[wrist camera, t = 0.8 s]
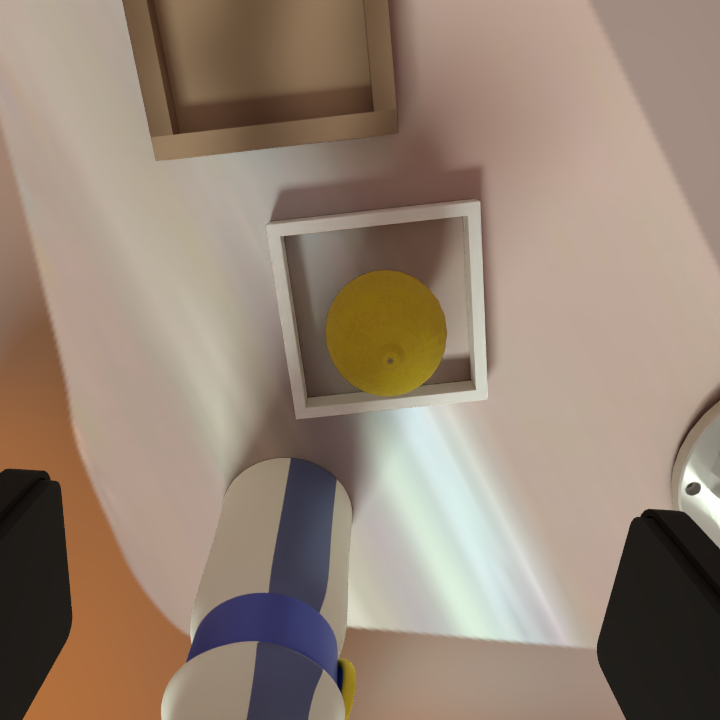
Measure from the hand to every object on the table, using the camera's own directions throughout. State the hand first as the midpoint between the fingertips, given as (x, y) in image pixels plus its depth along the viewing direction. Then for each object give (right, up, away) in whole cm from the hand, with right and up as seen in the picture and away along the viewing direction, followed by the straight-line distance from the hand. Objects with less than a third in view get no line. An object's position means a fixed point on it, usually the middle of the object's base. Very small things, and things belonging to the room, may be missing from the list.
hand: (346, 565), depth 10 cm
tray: (-4, +19, +17) cm, 26 cm away
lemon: (+1, +6, +22) cm, 23 cm away
